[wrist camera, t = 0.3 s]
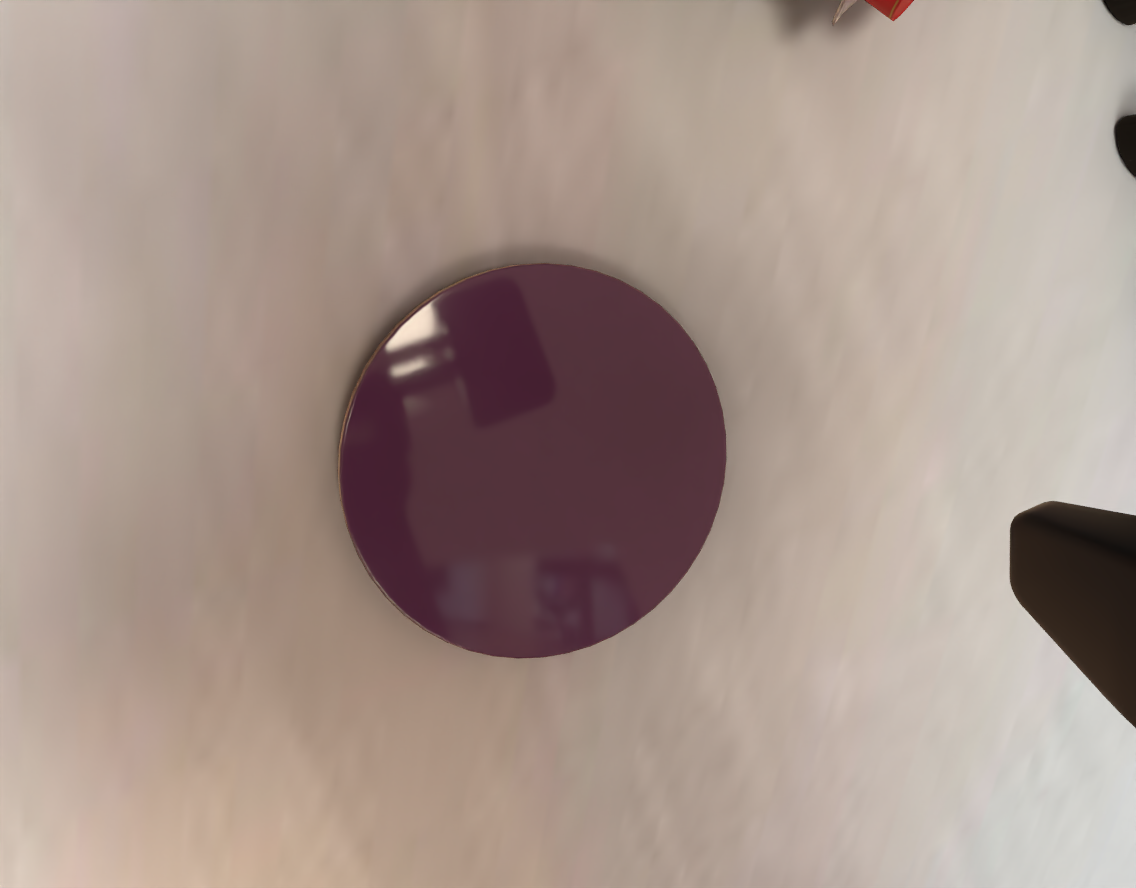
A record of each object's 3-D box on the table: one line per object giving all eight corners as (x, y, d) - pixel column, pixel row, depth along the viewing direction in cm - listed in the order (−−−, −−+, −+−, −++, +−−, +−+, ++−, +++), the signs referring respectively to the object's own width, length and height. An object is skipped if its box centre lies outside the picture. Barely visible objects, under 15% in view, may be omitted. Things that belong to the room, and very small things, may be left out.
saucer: (628, 689, 27) (640, 702, 26) (274, 583, 23) (275, 593, 23) (768, 352, 26) (784, 354, 25) (427, 196, 23) (433, 193, 22)
